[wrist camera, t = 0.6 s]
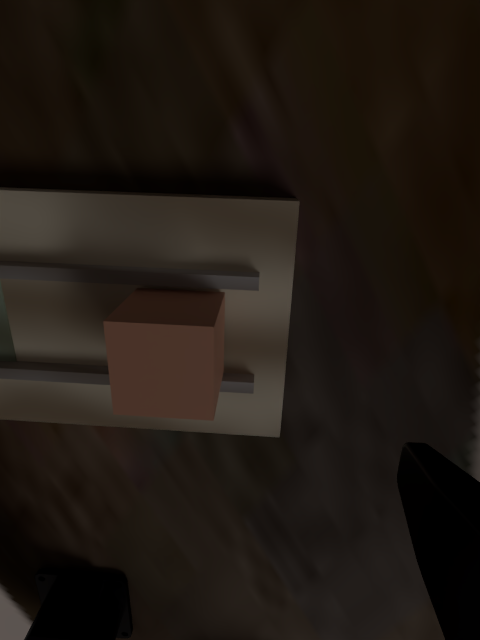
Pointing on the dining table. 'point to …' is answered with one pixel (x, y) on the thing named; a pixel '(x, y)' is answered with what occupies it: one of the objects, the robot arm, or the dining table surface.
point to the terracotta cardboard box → (166, 353)
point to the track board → (122, 280)
